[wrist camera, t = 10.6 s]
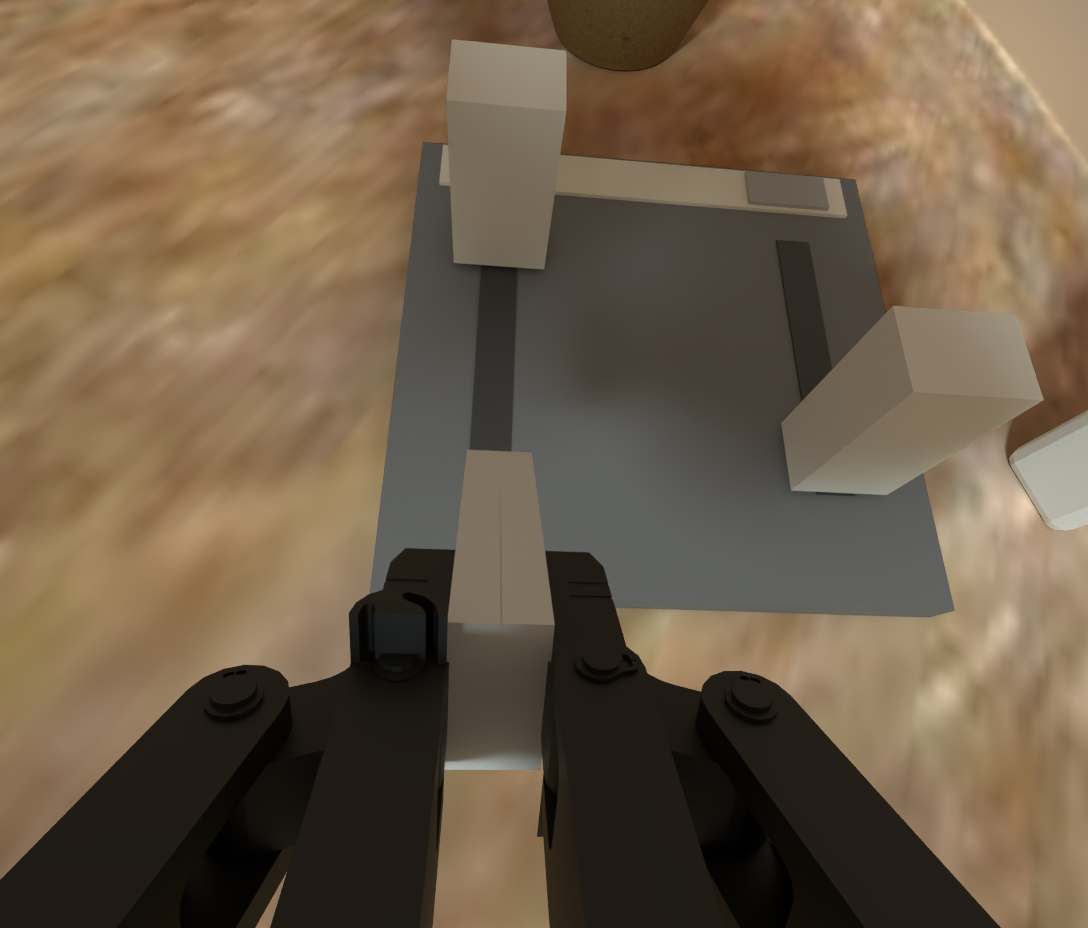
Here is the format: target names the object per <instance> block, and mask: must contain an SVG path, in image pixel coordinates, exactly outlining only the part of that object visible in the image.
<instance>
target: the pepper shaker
mask: <svg viewBox="0 0 1088 928" xmlns="http://www.w3.org/2000/svg"><path fill="white" fill-rule="evenodd" d="M1009 460H1010V465H1011V467H1012V469H1013V471H1014V472H1015V474H1016V475H1017V477H1018V479H1019V480H1020V482H1021V484H1022V485H1023V487H1024V489H1025V490H1026V492H1027V494H1028V495H1029V497H1030V499H1031V500H1032V502H1033V503H1034V505H1035V507H1036V508H1037V510H1038V512H1039V513H1040V515H1041V517H1042V518H1043V520H1044V522H1045V523H1046V524H1047V525H1048V526H1049V527H1051V528H1052V529H1054V530H1072V529H1075V528H1078V527H1082V526H1085V525H1088V410H1086V411H1085V412H1083V413H1081V414H1079V415H1077V416H1075V417H1074V418H1072V419H1070V420H1068V421H1066V422H1064V423H1063V424H1061V425H1059V426H1057V427H1055V428H1053V429H1052V430H1050V431H1048V432H1046V433H1044V434H1042V435H1041V436H1039V437H1037V438H1035V439H1033V440H1031V441H1030V442H1028V443H1026V444H1024V445H1022V446H1020V447H1019V448H1017V449H1016V450H1015V451H1014V452H1013V453H1012V455H1011V456H1010V457H1009Z"/></svg>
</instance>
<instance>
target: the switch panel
mask: <svg viewBox="0 0 1088 928" xmlns="http://www.w3.org/2000/svg"><path fill="white" fill-rule="evenodd" d="M885 313H886V311H885V306H884V302H883V298H882V293H881V289H880V285H879V280H878V276H877V272H876V267H875V263H874V259H873V254H872V250H871V246H870V241H869V237H868V233H867V228H866V224H865V220H864V215H863V211H862V207H861V202H860V198H859V194H858V189H857V185H856V181H855V179H844V178H832V177H821V176H809V175H798V174H786V173H775V172H763V171H752V170H740V169H729V168H718V167H706V166H695V165H683V164H672V163H660V162H649V161H637V160H626V159H614V158H603V157H592V156H580V155H569V154H560V160H559V167H558V175H557V182H556V189H555V196H554V203H553V210H552V217H551V224H550V231H549V238H548V245H547V253H546V260H545V267H544V269H531V268H517V267H503V266H490V265H476V264H462V263H454V257H453V236H452V216H451V195H450V175H449V155H448V144H443V143H431V142H423V146H422V154H421V163H420V171H419V180H418V188H417V197H416V205H415V214H414V222H413V231H412V239H411V248H410V256H409V265H408V273H407V282H406V290H405V299H404V307H403V316H402V324H401V332H400V341H399V349H398V358H397V366H396V375H395V383H394V392H393V400H392V409H391V417H390V426H389V434H388V443H387V451H386V460H385V468H384V477H383V485H382V494H381V502H380V511H379V519H378V528H377V536H376V545H375V553H374V562H373V570H372V579H371V587H370V592H371V593H374V592H378V591H381V590H383V586H384V583H385V582H386V576H387V572H388V569H389V565H390V562H391V561H392V560H393V559H394V558H395V557H396V556H398V555H399V554H400V553H401V552H402V551H403V550H404V549H405V548H419V549H449V550H456V541H457V532H458V524H459V515H460V506H461V498H462V489H463V481H464V472H465V463H466V455H467V450H487V451H509V452H530V453H532V457H533V465H534V473H535V480H536V488H537V495H538V503H539V510H540V518H541V525H542V533H543V540H544V548H545V551H565V552H589V553H590V554H591V555H592V556H593V557H594V558H595V559H596V560H597V561H598V562H599V563H600V564H601V565H602V566H603V567H604V570H605V573H606V577H607V580H608V586H609V587H610V591H611V595H612V600H613V602H614V605H615V607H617V608H649V609H681V610H713V611H745V612H776V613H808V614H840V615H872V616H903V617H933V616H936V615H940V614H944V613H947V612H951V611H954V606H953V601H952V597H951V593H950V588H949V584H948V580H947V575H946V571H945V567H944V562H943V558H942V554H941V549H940V545H939V541H938V536H937V532H936V528H935V523H934V519H933V515H932V510H931V506H930V502H929V497H928V493H927V489H926V484H925V480H924V476H923V473H922V474H921V475H919V476H917V477H916V478H914V479H912V480H911V481H909V482H907V483H906V484H904V485H903V486H901V487H899V488H898V489H896V490H894V491H893V492H891V493H889V494H888V495H875V494H853V493H832V492H811V491H791V488H790V481H789V474H788V467H787V460H786V453H785V446H784V439H783V432H782V425H781V423H782V422H783V421H784V420H785V419H786V418H787V416H788V415H789V414H790V413H791V412H792V411H793V410H794V409H795V408H796V407H797V406H798V405H799V404H800V403H801V402H802V401H803V400H804V399H805V398H806V396H807V395H808V394H809V393H810V392H811V391H812V390H813V389H814V388H815V387H816V386H817V385H818V384H819V383H820V382H821V381H822V380H823V379H824V378H825V376H826V375H827V374H828V373H829V372H830V371H831V370H832V369H833V368H834V367H835V366H836V365H837V364H838V363H839V362H840V361H841V360H842V359H843V358H844V357H845V355H846V354H847V353H848V352H849V351H850V350H851V349H852V348H853V347H854V346H855V345H856V344H857V343H858V342H859V341H860V340H861V339H862V338H863V337H864V335H865V334H866V333H867V332H868V331H869V330H870V329H871V328H872V327H873V326H874V325H875V324H876V323H877V322H878V321H879V320H880V319H881V318H882V317H883V315H884V314H885Z"/></svg>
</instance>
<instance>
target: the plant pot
mask: <svg viewBox="0 0 1088 928" xmlns="http://www.w3.org/2000/svg"><path fill="white" fill-rule="evenodd" d="M547 1H548V5H549V9H550V13H551V17H552V20H553V24H554V27H555V30H556V33H557V35H558V37H559V39H560V41H561V42H562V44H563V45H564V46H565V47H566V48H567V49H568V50H569V51H570V52H572V53H573V54H574V55H576V56H577V57H579V58H580V59H582V60H584V61H586V62H588V63H590V64H593V65H596V66H599V67H602V68H607V69H611V70H627V71H630V70H639V69H644V68H648V67H651V66H654V65H656V64H658V63H660V62H662V61H663V60H664V59H666V58H667V57H668V56H669V55H670V54H671V53H672V52H673V50H674V49H675V48H676V46H677V45H678V43H679V42H680V41H681V39H682V38H683V37H684V35H685V34H686V32H687V31H688V30H689V28H690V27H691V25H692V24H693V22H694V21H695V20H696V18H697V17H698V15H699V14H700V12H701V11H702V9H703V8H704V6H705V5H706V3H707V2H708V0H547Z"/></svg>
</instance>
